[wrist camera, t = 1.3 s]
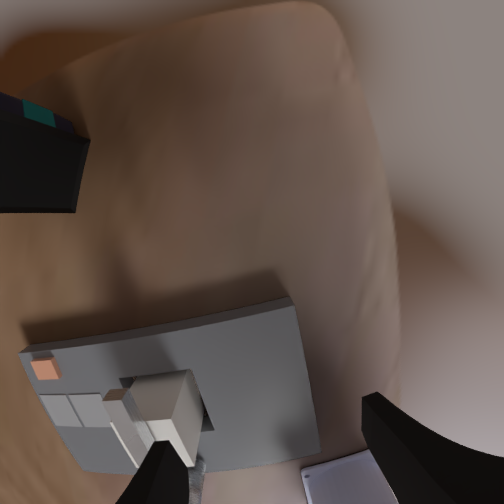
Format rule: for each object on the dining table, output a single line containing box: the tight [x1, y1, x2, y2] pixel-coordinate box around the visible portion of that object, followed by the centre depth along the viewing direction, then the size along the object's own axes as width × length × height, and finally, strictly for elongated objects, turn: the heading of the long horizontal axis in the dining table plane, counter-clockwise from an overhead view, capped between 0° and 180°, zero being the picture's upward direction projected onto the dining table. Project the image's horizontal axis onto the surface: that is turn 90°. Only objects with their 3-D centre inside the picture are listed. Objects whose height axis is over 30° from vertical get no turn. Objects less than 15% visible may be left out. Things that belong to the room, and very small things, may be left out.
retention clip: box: [102, 388, 206, 504], centre depth 16 cm, size 12×2×6 cm, turn 13°
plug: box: [110, 369, 205, 468], centre depth 18 cm, size 4×4×6 cm
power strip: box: [18, 297, 322, 475], centre depth 20 cm, size 13×22×3 cm, turn 103°
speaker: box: [0, 92, 90, 213], centre depth 14 cm, size 8×6×10 cm
